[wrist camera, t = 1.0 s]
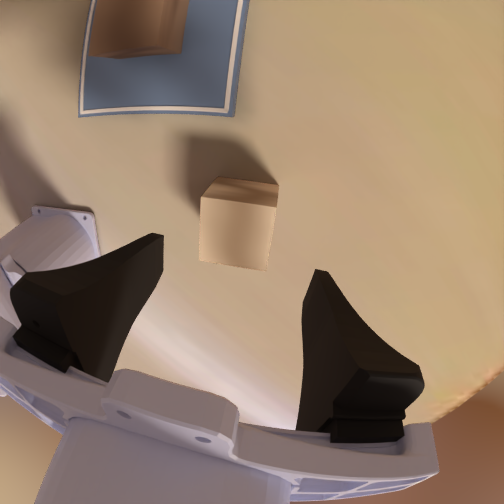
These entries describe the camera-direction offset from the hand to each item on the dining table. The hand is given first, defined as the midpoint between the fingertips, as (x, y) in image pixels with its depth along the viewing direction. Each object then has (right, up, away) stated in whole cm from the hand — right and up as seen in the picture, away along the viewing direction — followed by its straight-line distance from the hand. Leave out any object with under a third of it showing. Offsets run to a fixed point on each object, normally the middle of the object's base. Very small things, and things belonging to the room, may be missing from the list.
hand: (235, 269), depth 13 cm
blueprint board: (-6, +17, +2) cm, 18 cm away
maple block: (0, +4, +9) cm, 10 cm away
